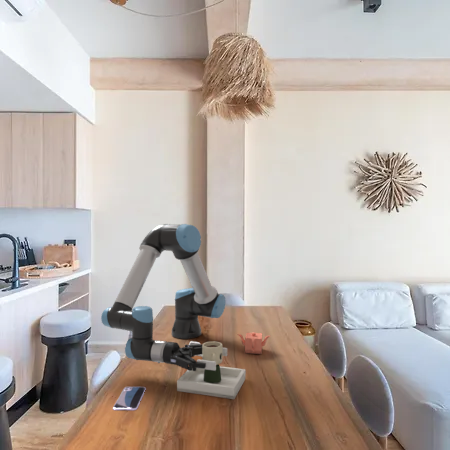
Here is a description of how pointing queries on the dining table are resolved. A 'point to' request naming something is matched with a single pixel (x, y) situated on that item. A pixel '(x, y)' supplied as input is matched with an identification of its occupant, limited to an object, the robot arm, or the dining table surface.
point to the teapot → (253, 342)
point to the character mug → (212, 353)
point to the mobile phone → (129, 398)
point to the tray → (224, 388)
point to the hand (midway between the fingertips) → (221, 358)
